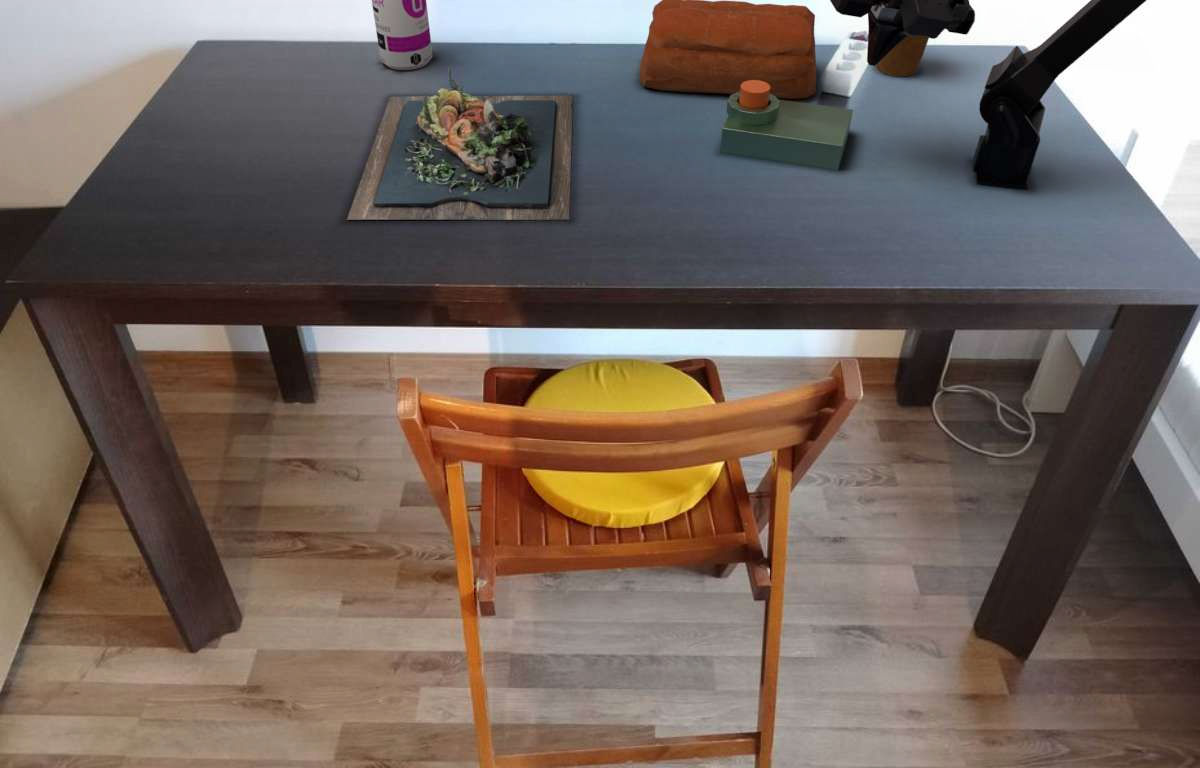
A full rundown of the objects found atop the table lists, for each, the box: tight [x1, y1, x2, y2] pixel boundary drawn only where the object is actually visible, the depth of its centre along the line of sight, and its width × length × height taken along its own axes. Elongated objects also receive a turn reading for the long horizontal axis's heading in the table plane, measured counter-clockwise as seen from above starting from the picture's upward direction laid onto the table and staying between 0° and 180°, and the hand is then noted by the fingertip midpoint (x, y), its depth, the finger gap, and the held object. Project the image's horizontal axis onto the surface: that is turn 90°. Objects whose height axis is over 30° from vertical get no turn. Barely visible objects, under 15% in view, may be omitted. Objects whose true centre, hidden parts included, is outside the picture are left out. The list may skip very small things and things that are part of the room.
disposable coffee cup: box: [875, 35, 930, 77], centre depth 150 cm, size 10×10×12 cm
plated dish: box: [346, 66, 574, 221], centre depth 132 cm, size 35×28×7 cm
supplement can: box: [371, 0, 433, 71], centre depth 151 cm, size 8×8×15 cm
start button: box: [739, 80, 770, 109], centre depth 133 cm, size 4×4×3 cm
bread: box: [638, 0, 817, 100], centre depth 148 cm, size 16×27×11 cm, turn 81°
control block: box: [719, 91, 854, 172], centre depth 134 cm, size 16×11×6 cm
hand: (870, 63), depth 127 cm, fingers closed
